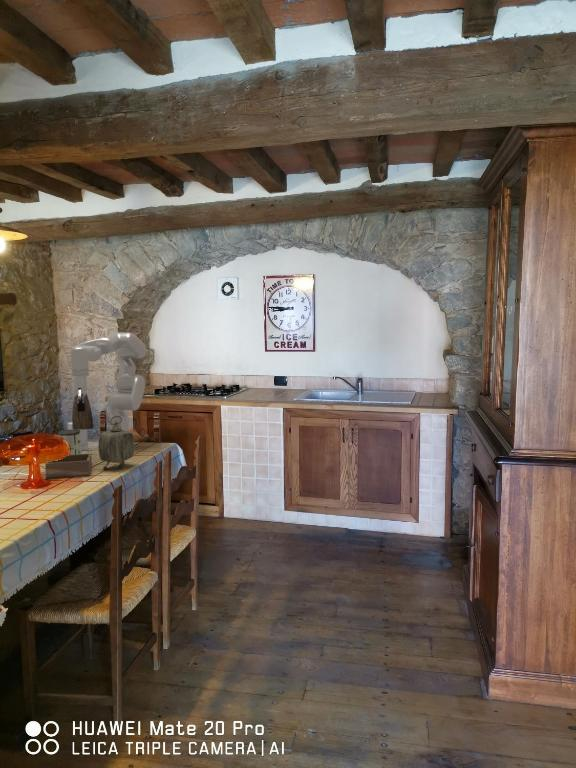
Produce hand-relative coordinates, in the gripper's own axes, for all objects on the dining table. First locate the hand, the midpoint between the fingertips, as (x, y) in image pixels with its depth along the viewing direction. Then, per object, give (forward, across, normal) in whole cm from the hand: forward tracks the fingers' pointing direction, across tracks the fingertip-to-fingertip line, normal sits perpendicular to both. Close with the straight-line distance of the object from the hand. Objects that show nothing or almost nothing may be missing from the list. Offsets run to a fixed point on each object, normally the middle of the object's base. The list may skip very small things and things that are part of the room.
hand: (82, 410), depth 250 cm
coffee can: (+27, -16, -8) cm, 33 cm away
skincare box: (+28, -34, -6) cm, 44 cm away
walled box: (+27, +13, -5) cm, 31 cm away
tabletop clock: (+27, +10, +16) cm, 33 cm away
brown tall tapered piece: (+9, 0, 0) cm, 9 cm away
